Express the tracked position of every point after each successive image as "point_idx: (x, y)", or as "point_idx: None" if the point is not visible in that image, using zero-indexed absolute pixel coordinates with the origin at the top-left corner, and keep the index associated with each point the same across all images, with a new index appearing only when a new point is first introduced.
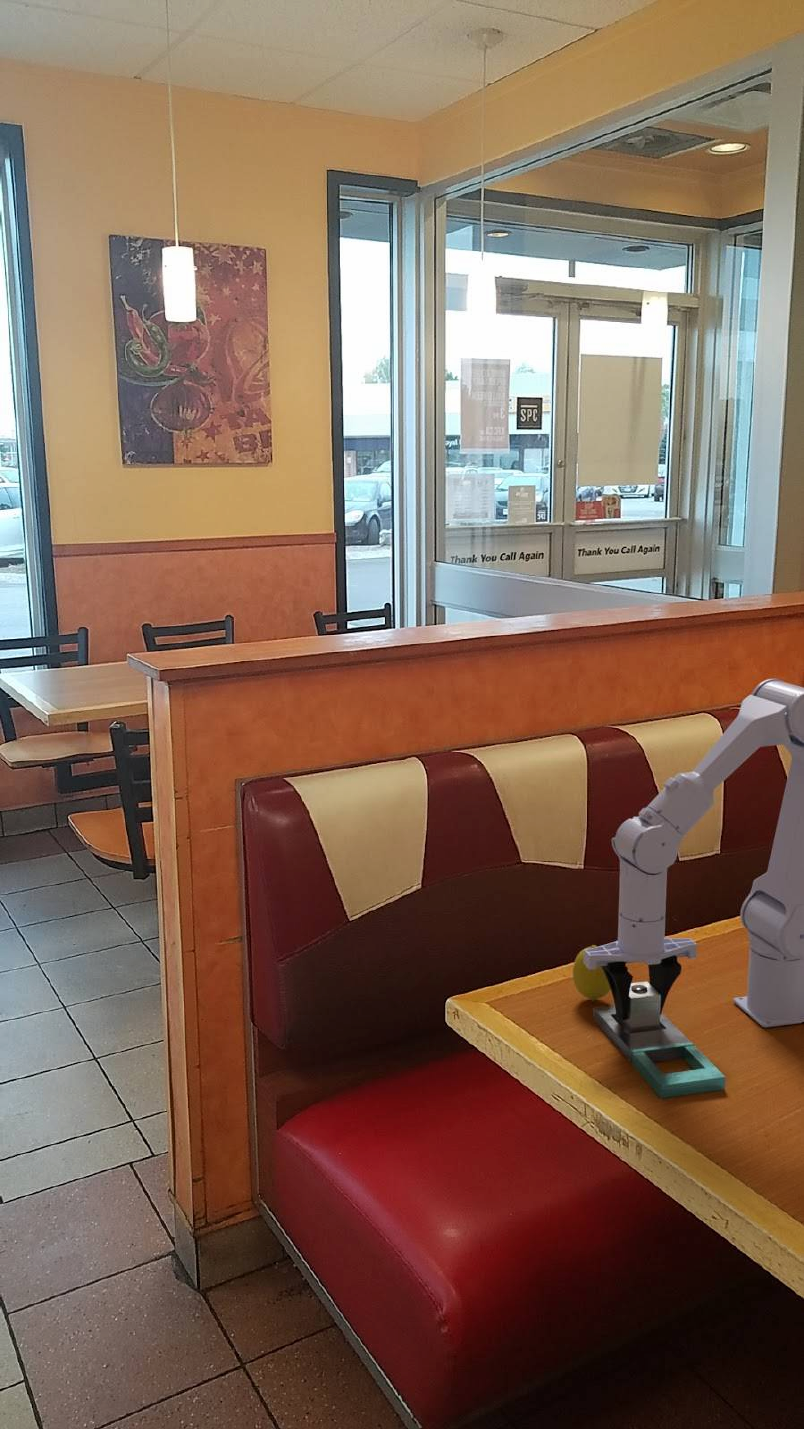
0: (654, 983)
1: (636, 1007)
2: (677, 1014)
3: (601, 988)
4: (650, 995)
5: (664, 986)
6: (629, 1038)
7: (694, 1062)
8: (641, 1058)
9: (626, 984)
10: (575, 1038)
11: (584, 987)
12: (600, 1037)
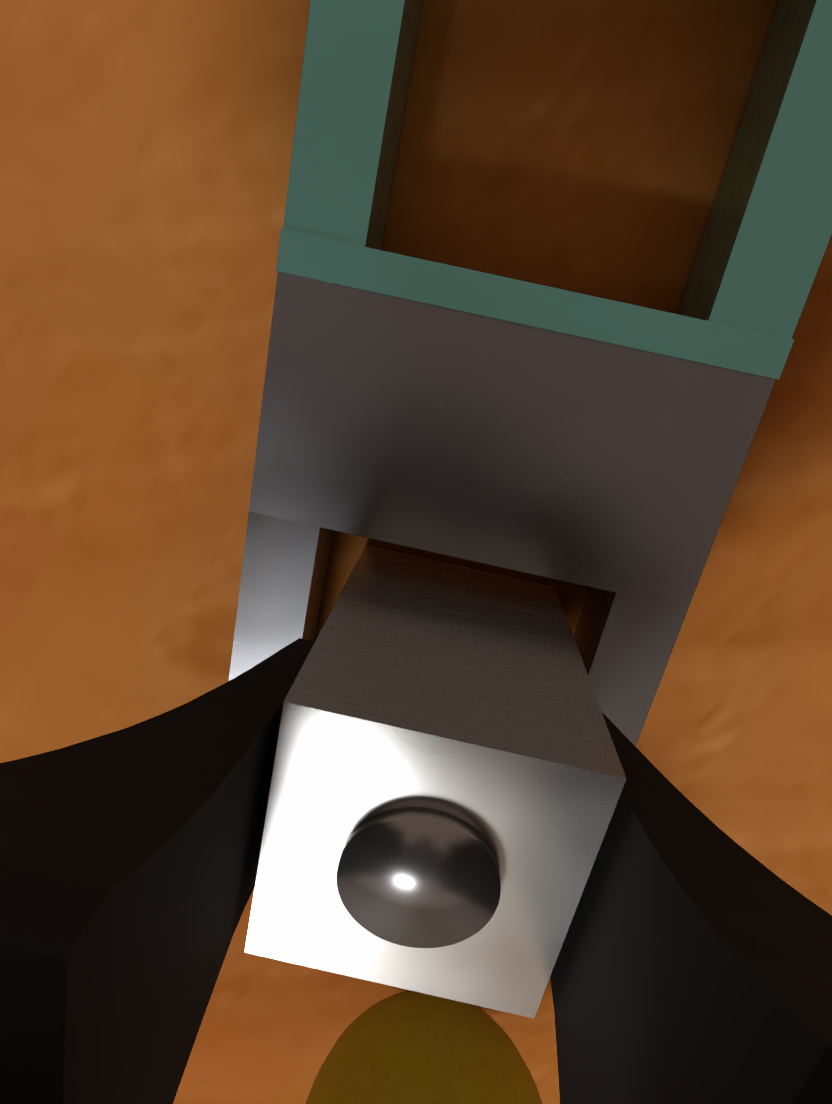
0: (233, 879)
1: (548, 700)
2: (108, 713)
3: (450, 1044)
4: (395, 737)
5: (202, 756)
6: (650, 534)
7: (403, 60)
8: (801, 230)
9: (792, 946)
10: (796, 758)
11: (535, 1092)
12: (663, 706)
